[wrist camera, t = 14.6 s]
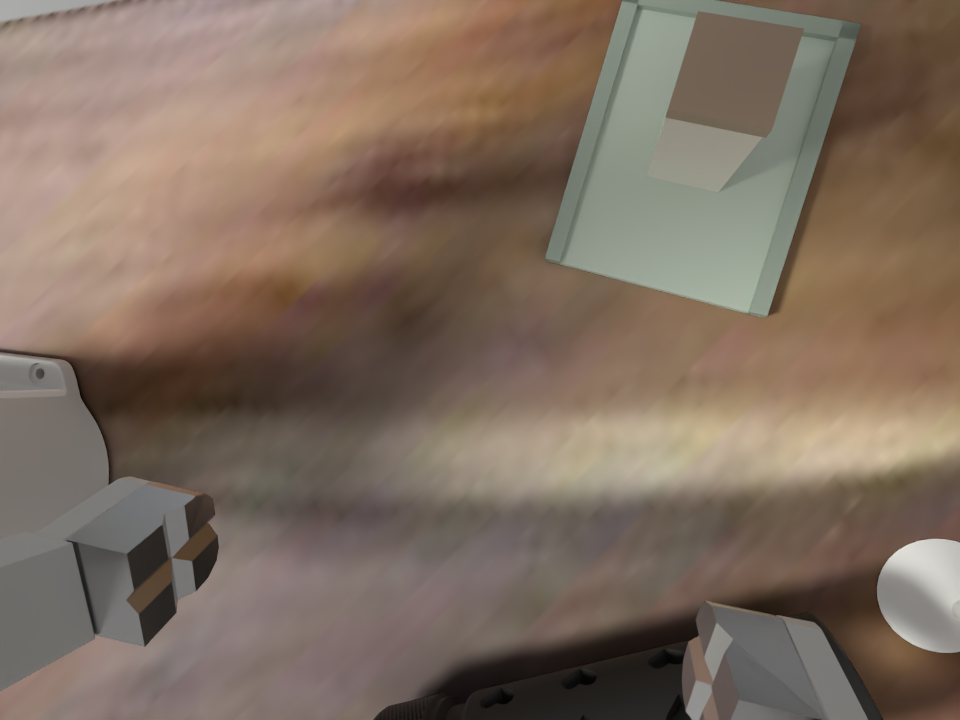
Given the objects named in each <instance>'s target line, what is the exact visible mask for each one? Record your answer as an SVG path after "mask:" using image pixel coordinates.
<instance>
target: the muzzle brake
mask: <svg viewBox="0 0 960 720" xmlns="http://www.w3.org/2000/svg"><path fill="white" fill-rule="evenodd" d="M789 617H790V618H795V619H800V620H805V621H810V622H814V623H815V624H817V625H818V626H819V627H820V628H821V629H822V631H823V633H824V635H825V637H826V639H827V641H828V643H829V645H830V647H831V649H832V651H833V652H834V654H835V656H836V658H837V660H838V662H839V664H840V666H841V668H842V670H843V672H844V674H845V676H846V678H847V680H848V682H849V683H850V685H851V687H852V689H853V691H854V693H855V695H856V697H857V699H858V701H859V703H860V705H861V707H862V709H863V711H864V713H865V714H866V716H867V718H868V720H883V718H882V716H881V715H880V713H879V711H878V709H877V707H876V705H875V703H874V701H873V699H872V697H871V696H870V694H869V692H868V690H867V688H866V687H865V685H864V683H863V681H862V680H861V678H860V676H859V675H858V673H857V671H856V670H855V668H854V666H853V665H852V663H851V661H850V660H849V658H848V657H847V655H846V654H845V652H844V651H843V649H842V648H841V646H840V645H839V644H838V642H837V641H836V640H835V638H834V637H833V636H832V634H831V633H830V632H829V631H828V629H827V628H826V627H825V626H824V625H823V624H822V623H821V622H820V621H819V620H818V619H817V618H816V617H814V616H813V615H811V614H809V613H807V612H806V613H801V614H797V615H793V616H789ZM689 641H691V640H687V641H683V642H679V643H675V644H671V645H666V646H662V647H658V648H654V649H650V650H645V651H641V652H637V653H633V654H628V655H624V656H620V657H616V658H612V659H607V660H603V661H599V662H595V663H591V664H586V665H582V666H578V667H574V668H569V669H565V670H561V671H557V672H553V673H548V674H544V675H540V676H536V677H532V678H527V679H523V680H519V681H515V682H510V683H506V684H502V685H498V686H494V687H489V688H485V689H481V690H476V691H475V692H474V693H472V694H471V695H470V696H469V698H468V699H467V701H466V703H462V702H461V701H460V700H459V699H458V698H456V697H453V696H448V695H445V694H437V695H433V696H429V697H425V698H420V699H416V700H412V701H408V702H404V703H400V704H395V705H391V706H388V707H386V708H385V709H384V710H382V711H381V712H380V713H379V714H378V715H377V716H376V717H375V718H374V720H692V719H691V718H690V716H689V715H688V714H687V712H686V711H685V705H684V699H683V690H682V670H683V659H684V655H685V652H686V648H687V645H688V642H689Z"/></svg>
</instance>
